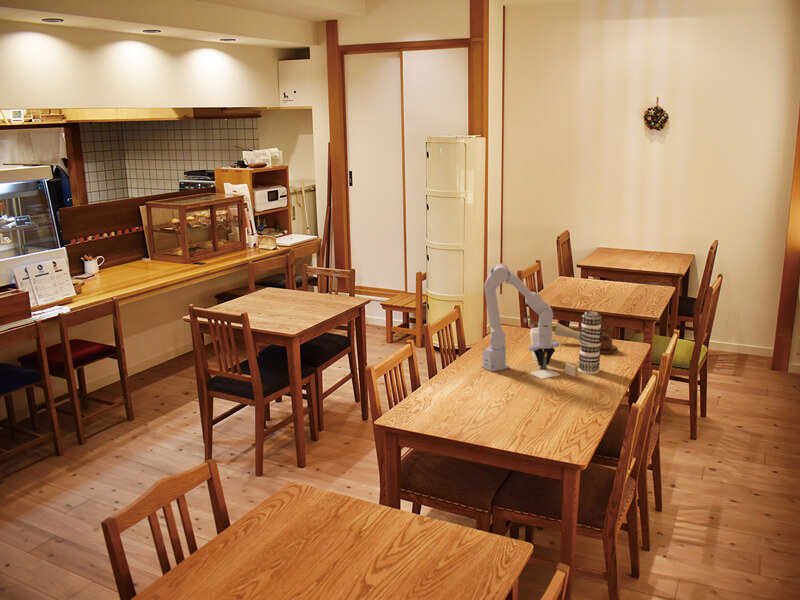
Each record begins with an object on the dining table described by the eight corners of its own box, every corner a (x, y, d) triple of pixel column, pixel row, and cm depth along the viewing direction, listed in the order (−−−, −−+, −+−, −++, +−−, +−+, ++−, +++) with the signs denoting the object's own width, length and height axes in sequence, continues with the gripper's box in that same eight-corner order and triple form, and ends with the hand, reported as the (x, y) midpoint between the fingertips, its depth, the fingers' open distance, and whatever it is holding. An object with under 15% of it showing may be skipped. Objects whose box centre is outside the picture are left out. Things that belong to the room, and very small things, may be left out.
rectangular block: (574, 376, 291) (575, 366, 290) (573, 376, 291) (573, 367, 290) (566, 372, 296) (567, 363, 295) (565, 372, 295) (565, 363, 294)
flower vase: (589, 362, 330) (516, 340, 339) (593, 348, 340) (522, 326, 349) (595, 342, 324) (521, 320, 333) (599, 328, 333) (527, 307, 342)
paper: (541, 379, 288) (541, 378, 288) (529, 373, 295) (529, 372, 295) (560, 375, 292) (560, 374, 292) (548, 369, 299) (548, 368, 299)
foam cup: (552, 362, 308) (554, 333, 305) (531, 362, 309) (532, 333, 306) (548, 355, 318) (549, 327, 315) (528, 355, 318) (528, 327, 315)
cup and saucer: (618, 356, 316) (619, 342, 315) (590, 354, 319) (591, 341, 317) (615, 347, 328) (616, 335, 326) (589, 346, 330) (589, 333, 329)
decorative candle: (574, 372, 296) (577, 314, 290) (580, 365, 304) (583, 309, 298) (597, 375, 292) (600, 316, 286) (602, 368, 300) (605, 311, 294)
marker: (542, 370, 299) (543, 354, 297) (538, 368, 301) (539, 352, 299) (547, 369, 300) (548, 353, 298) (543, 367, 302) (544, 351, 301)
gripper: (536, 339, 290) (535, 370, 294) (564, 334, 297) (563, 365, 300) (526, 334, 296) (525, 365, 300) (553, 329, 303) (552, 360, 306)
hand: (543, 365), depth 300 cm, fingers closed on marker, 3 cm apart
